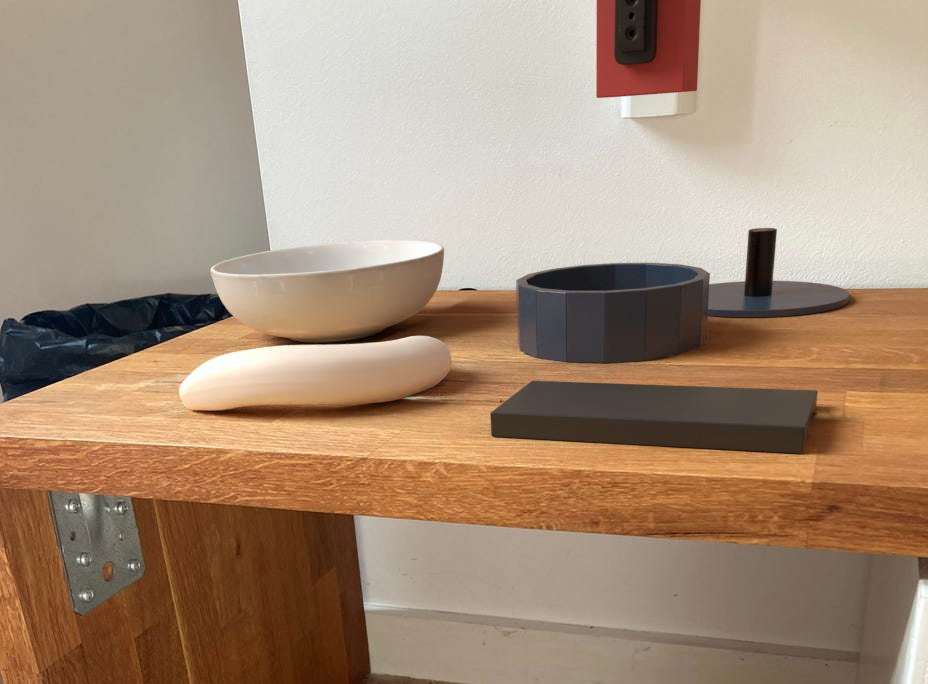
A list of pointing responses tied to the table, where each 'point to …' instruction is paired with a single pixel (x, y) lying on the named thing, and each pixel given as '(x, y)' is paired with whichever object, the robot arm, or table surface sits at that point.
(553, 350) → the pot
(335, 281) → the serving bowl
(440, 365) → the banana
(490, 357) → the table surface
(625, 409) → the board
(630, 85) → the red chamfered block
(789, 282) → the pot lid
